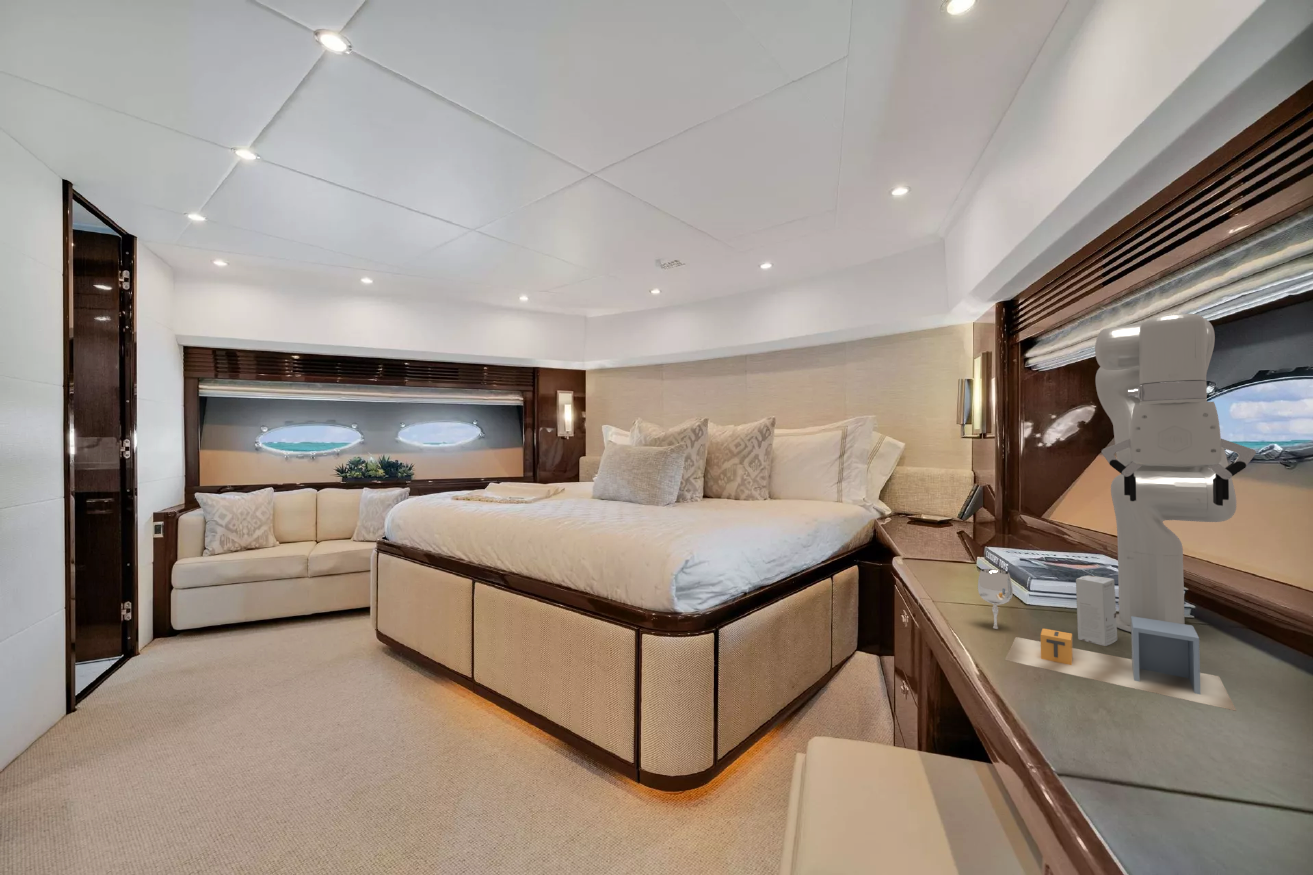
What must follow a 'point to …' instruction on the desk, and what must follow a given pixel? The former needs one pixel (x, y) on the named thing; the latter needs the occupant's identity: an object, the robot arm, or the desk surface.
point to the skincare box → (1096, 610)
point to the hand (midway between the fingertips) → (1173, 502)
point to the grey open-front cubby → (1165, 649)
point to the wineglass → (995, 588)
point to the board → (1123, 674)
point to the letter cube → (1056, 646)
